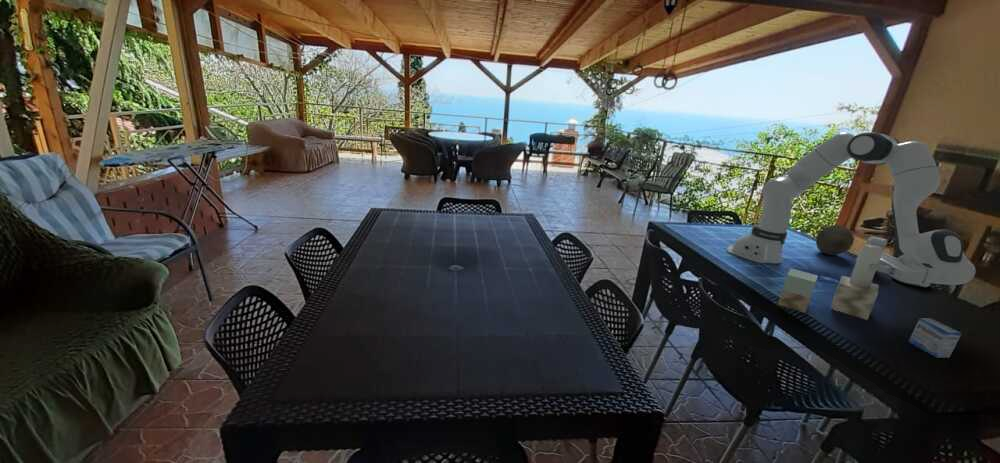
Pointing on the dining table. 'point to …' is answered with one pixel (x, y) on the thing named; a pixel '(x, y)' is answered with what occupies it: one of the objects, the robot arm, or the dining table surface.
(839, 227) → the cantaloupe
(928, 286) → the cup and saucer
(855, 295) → the shelf block
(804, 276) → the tower block upper
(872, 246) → the canister
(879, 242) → the beer can
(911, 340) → the medicine box
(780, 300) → the tower block lower
